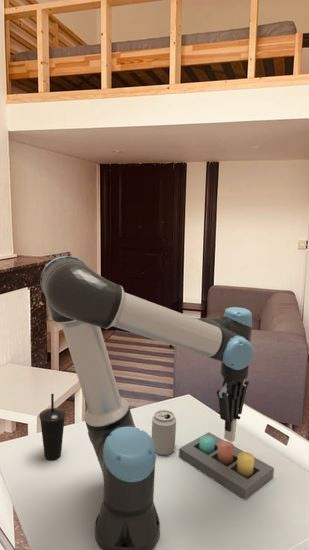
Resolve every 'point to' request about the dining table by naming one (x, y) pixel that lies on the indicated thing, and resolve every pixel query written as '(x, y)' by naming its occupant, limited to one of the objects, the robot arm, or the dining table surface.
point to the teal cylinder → (207, 444)
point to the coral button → (225, 453)
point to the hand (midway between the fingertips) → (229, 439)
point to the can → (164, 432)
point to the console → (226, 468)
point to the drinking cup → (52, 431)
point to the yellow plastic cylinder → (245, 464)
